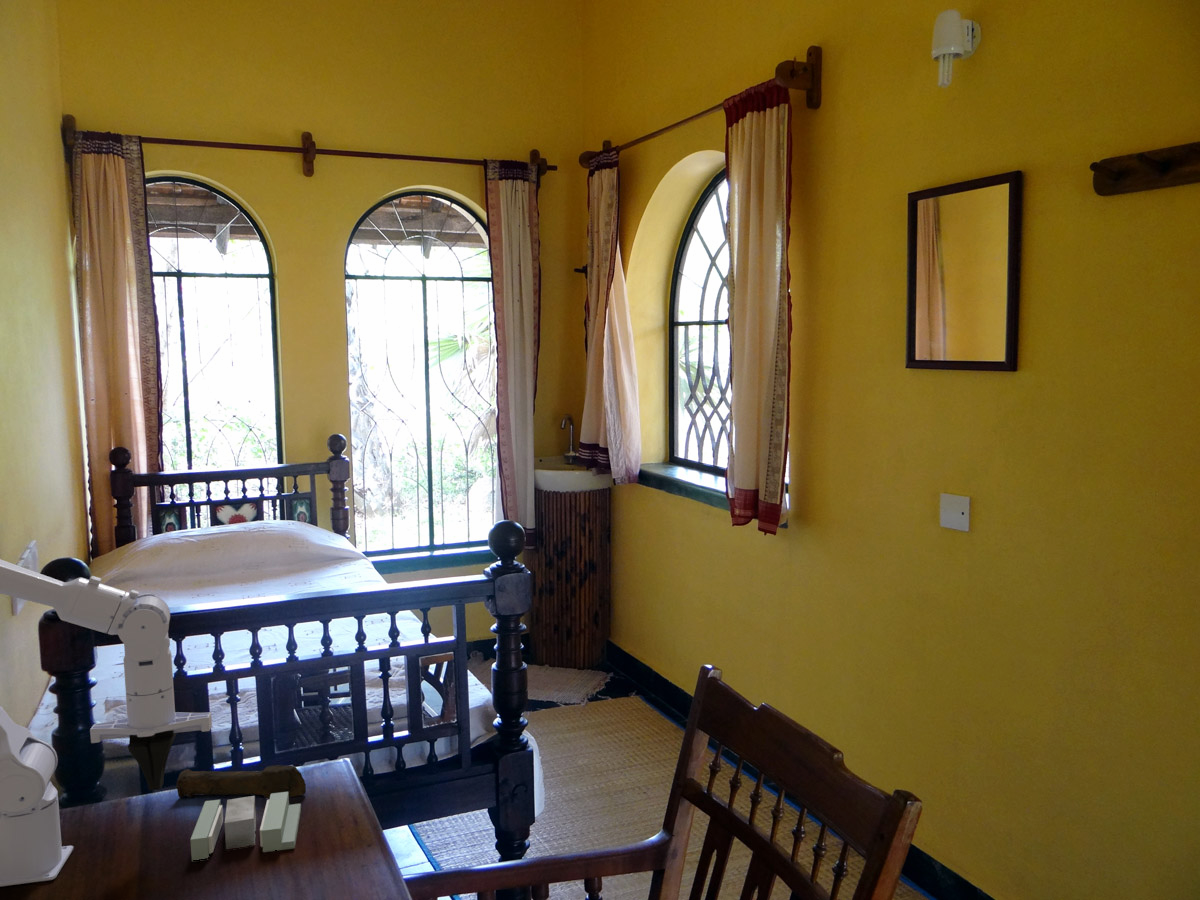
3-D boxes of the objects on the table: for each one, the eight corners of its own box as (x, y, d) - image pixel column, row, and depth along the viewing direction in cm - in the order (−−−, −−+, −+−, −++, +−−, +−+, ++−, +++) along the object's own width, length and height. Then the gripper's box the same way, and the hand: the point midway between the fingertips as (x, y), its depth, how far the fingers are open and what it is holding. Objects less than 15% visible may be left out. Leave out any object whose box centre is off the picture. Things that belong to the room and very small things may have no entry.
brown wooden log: (174, 802, 140) (172, 772, 139) (188, 789, 143) (186, 760, 143) (298, 805, 138) (296, 775, 137) (308, 793, 142) (307, 763, 141)
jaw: (191, 861, 122) (190, 839, 122) (206, 821, 133) (205, 801, 133) (211, 858, 123) (210, 837, 123) (224, 819, 133) (223, 799, 133)
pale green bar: (259, 852, 124) (258, 831, 124) (268, 813, 135) (267, 794, 135) (294, 848, 125) (293, 826, 125) (300, 810, 136) (299, 790, 136)
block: (226, 851, 125) (224, 823, 125) (228, 827, 132) (227, 799, 131) (254, 846, 126) (253, 818, 126) (256, 822, 133) (254, 795, 132)
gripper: (80, 704, 119) (88, 807, 120) (202, 693, 122) (209, 793, 123) (96, 686, 126) (103, 783, 127) (211, 675, 129) (217, 770, 130)
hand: (156, 786), depth 126 cm, fingers closed
